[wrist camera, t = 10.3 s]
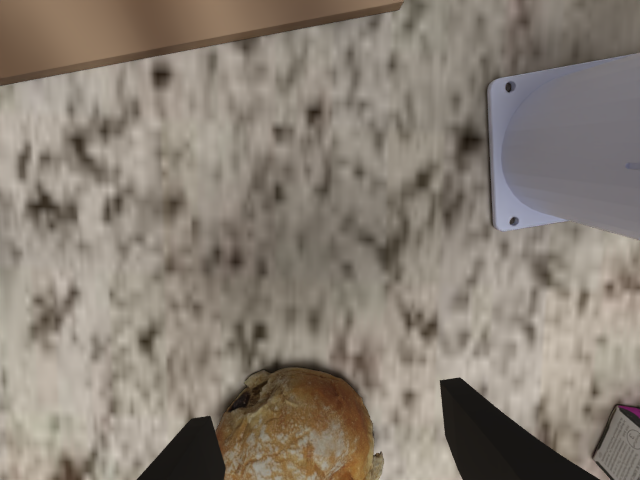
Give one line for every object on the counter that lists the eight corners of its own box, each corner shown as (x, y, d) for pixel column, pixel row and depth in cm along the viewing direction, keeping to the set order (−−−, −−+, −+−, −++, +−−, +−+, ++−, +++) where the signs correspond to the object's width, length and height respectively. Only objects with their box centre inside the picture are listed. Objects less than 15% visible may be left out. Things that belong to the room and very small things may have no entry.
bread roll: (311, 321, 25) (258, 350, 18) (420, 435, 23) (411, 526, 15) (232, 409, 27) (152, 469, 20) (323, 524, 24) (272, 645, 17)
